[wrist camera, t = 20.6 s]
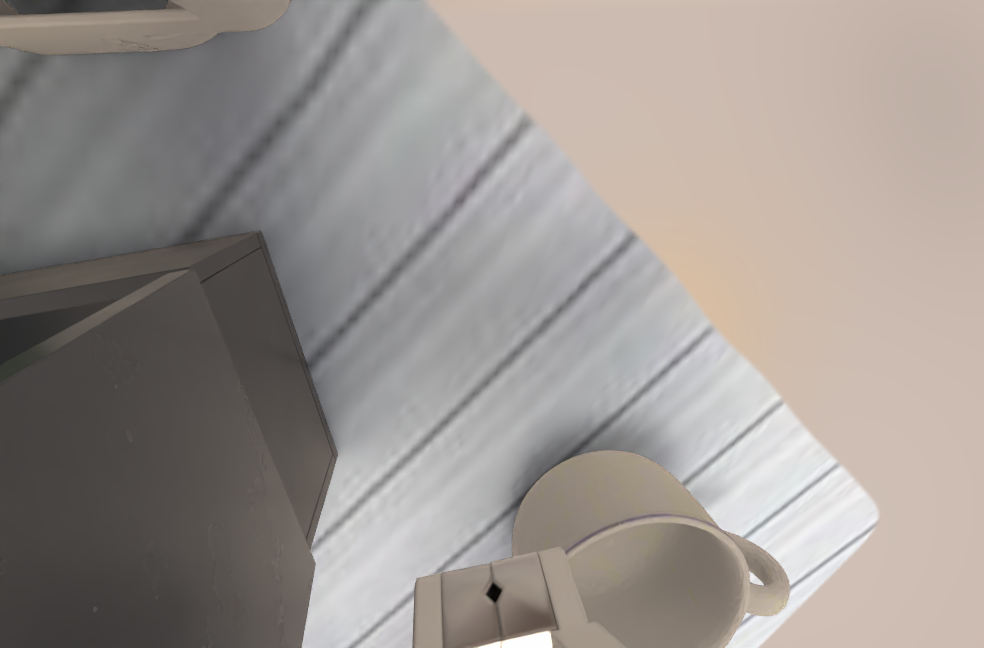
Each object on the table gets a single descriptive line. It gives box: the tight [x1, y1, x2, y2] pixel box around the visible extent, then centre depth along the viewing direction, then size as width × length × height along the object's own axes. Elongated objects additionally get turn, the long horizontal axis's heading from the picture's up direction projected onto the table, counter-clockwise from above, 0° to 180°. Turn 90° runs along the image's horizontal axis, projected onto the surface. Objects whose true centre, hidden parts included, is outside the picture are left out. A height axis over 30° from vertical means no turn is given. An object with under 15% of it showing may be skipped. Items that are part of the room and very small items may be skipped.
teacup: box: [512, 450, 790, 648], centre depth 25 cm, size 14×11×8 cm
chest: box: [0, 231, 338, 549], centre depth 19 cm, size 14×12×7 cm
